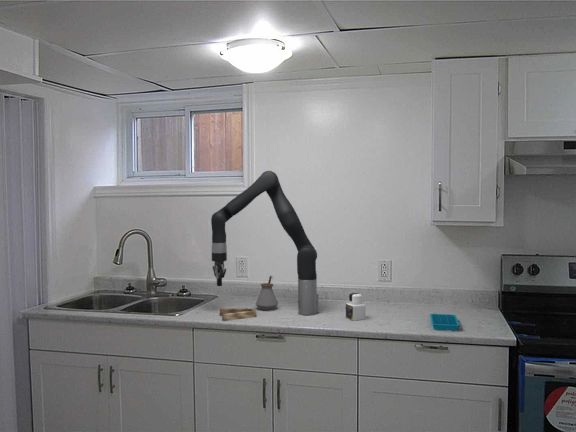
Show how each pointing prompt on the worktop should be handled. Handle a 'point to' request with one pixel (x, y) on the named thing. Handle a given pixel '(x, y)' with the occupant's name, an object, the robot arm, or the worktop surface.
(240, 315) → the tong base
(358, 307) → the medicine bottle
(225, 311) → the tong arm
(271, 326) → the worktop surface
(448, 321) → the ice cube tray
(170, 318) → the worktop surface
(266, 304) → the coffee pot
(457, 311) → the worktop surface
